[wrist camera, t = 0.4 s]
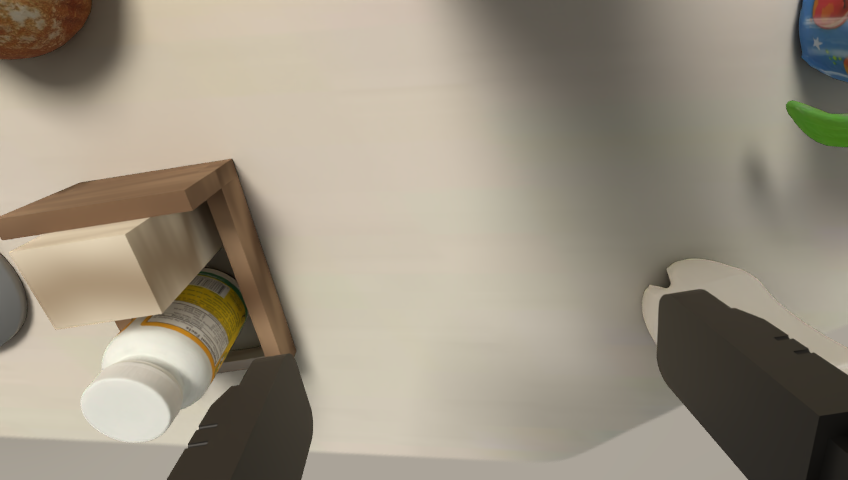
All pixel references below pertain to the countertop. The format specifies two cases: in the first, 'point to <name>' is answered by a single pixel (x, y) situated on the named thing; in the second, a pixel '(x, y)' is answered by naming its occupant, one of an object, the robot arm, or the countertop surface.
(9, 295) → the coaster
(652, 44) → the countertop surface
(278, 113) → the countertop surface
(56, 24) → the bread roll
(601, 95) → the countertop surface
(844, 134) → the snack cup
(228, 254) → the rack
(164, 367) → the supplement bottle
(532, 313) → the countertop surface
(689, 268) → the water bottle
